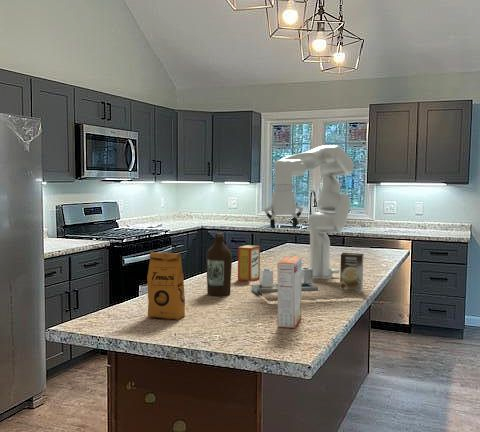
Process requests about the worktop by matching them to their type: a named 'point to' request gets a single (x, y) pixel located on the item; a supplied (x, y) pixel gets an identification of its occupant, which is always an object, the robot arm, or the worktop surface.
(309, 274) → the block with ball knob
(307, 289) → the tray with square compartments
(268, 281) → the grey block with knob
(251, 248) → the baking soda box
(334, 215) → the robot arm
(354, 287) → the coffee box
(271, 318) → the worktop surface
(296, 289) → the cracker box
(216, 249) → the olive oil
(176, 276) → the coffee package
